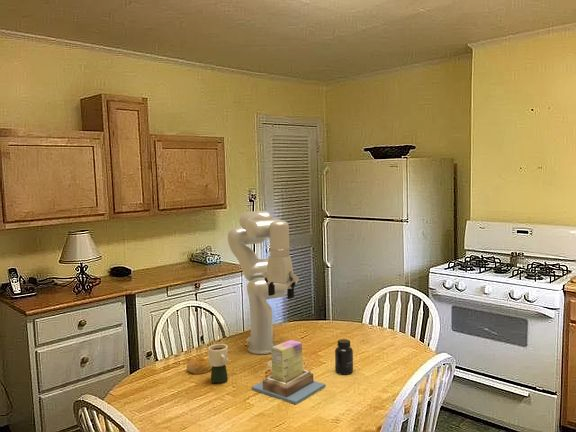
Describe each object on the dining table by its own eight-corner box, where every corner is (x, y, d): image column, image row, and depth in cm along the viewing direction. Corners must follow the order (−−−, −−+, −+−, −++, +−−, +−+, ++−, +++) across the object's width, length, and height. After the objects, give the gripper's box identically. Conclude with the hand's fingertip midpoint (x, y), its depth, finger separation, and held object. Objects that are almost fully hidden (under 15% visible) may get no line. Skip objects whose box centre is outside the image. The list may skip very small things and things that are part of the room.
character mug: (234, 383, 183) (232, 349, 182) (216, 388, 179) (214, 353, 178) (222, 374, 192) (220, 341, 191) (204, 378, 188) (203, 344, 187)
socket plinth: (262, 389, 175) (262, 378, 175) (289, 375, 187) (289, 364, 186) (287, 397, 168) (286, 385, 168) (313, 382, 180) (313, 371, 180)
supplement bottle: (352, 375, 187) (352, 344, 186) (334, 374, 188) (333, 343, 188) (353, 368, 194) (353, 338, 193) (336, 367, 195) (335, 337, 194)
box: (291, 370, 183) (290, 339, 182) (303, 374, 179) (302, 342, 178) (271, 379, 176) (270, 346, 175) (283, 383, 172) (282, 350, 171)
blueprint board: (251, 389, 177) (251, 386, 177) (282, 374, 190) (282, 371, 190) (296, 404, 165) (295, 401, 165) (325, 386, 178) (325, 384, 178)
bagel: (219, 368, 198) (219, 356, 198) (198, 377, 190) (197, 365, 190) (203, 363, 205) (202, 351, 204) (181, 372, 196) (180, 360, 196)
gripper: (256, 252, 196) (258, 295, 197) (291, 256, 185) (292, 301, 187) (269, 250, 202) (270, 292, 203) (303, 253, 191) (304, 297, 192)
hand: (281, 296), depth 195 cm, fingers open, 9 cm apart
